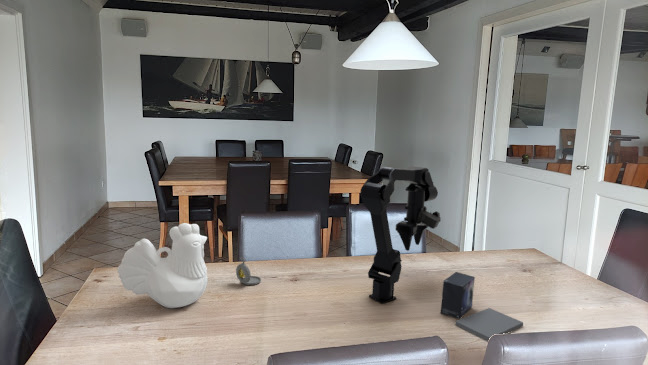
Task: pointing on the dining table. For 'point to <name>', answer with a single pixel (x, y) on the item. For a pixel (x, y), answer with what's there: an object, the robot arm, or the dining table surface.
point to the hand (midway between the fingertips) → (412, 247)
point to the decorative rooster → (167, 268)
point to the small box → (457, 295)
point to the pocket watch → (246, 274)
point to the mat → (488, 323)
